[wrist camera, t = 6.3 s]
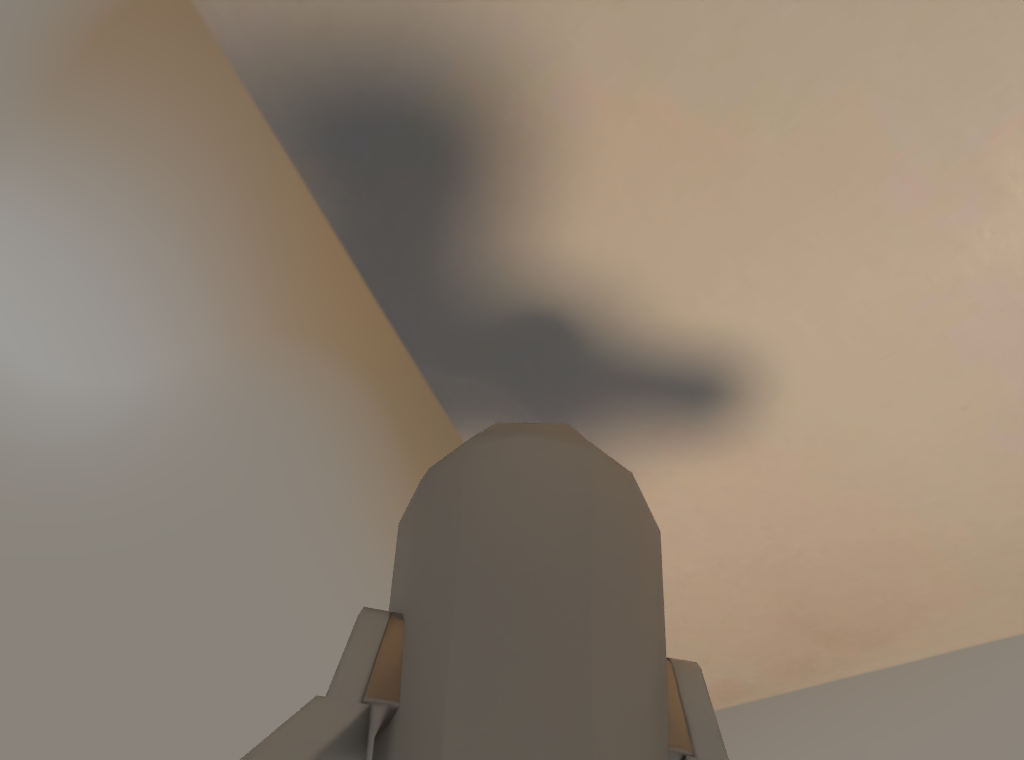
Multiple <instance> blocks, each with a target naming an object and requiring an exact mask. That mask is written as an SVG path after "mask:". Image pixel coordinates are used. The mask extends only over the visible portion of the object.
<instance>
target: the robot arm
mask: <svg viewBox="0 0 1024 760" xmlns="http://www.w3.org/2000/svg"><path fill="white" fill-rule="evenodd" d="M403 639H404V617H403V614H401V613H396V612H390V611H384V610H378V609H373V608H367V607H364V608H363V609H362V611H361V612H360V614H359V615H358V617H357V620H356V622H355V625H354V627H353V630H352V632H351V635H350V637H349V640H348V642H347V645H346V647H345V650H344V652H343V655H342V657H341V660H340V662H339V665H338V667H337V670H336V672H335V675H334V677H333V680H332V682H331V685H330V688H329V690H328V692H327V695H326V697H323V696H316V697H314V698H313V699H312V700H311V701H310V702H308V703H307V704H306V705H305V706H304V707H302V708H301V709H300V710H299V711H298V712H296V713H295V714H294V715H293V716H292V717H290V718H289V719H288V720H287V721H286V722H284V723H283V724H282V725H281V726H280V727H278V728H277V729H276V730H275V731H274V732H272V733H271V734H270V735H269V736H268V737H266V738H265V739H264V740H263V741H262V742H261V743H259V744H258V745H257V746H256V747H255V748H253V749H252V750H251V751H250V752H249V753H247V754H246V755H245V756H244V757H243V758H241V759H240V760H372V755H373V746H374V738H375V737H376V736H377V735H378V734H379V733H380V732H382V731H383V730H384V729H385V728H386V727H387V726H388V725H389V723H390V722H391V720H392V718H393V717H394V715H395V713H396V712H397V710H398V709H399V707H400V690H401V674H402V656H403ZM666 660H667V681H668V751H669V752H670V753H671V760H729V759H728V755H727V752H726V749H725V746H724V742H723V739H722V736H721V732H720V729H719V726H718V723H717V719H716V716H715V713H714V709H713V706H712V703H711V700H710V696H709V693H708V690H707V687H706V683H705V680H704V677H703V673H702V670H701V668H700V666H699V665H698V664H697V662H691V661H685V660H679V659H673V658H666Z"/></svg>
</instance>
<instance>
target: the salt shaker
mask: <svg viewBox="0 0 1024 760" xmlns="http://www.w3.org/2000/svg"><path fill="white" fill-rule="evenodd" d="M389 611H390V612H396V613H401V614H403V617H404V639H403V656H402V674H401V690H400V707H399V709H398V710H397V712H396V713H395V715H394V717H393V718H392V720H391V722H390V723H389V725H388V726H387V727H386V728H385V729H384V730H383V731H382V732H380V733H379V734H378V735H377V736H376V737H375V738H374V746H373V755H372V760H671V753H670V752H669V751H668V681H667V660H666V639H665V619H664V598H663V577H662V556H661V535H660V530H659V528H658V526H657V524H656V522H655V519H654V517H653V515H652V513H651V511H650V509H649V507H648V505H647V503H646V501H645V499H644V497H643V495H642V492H641V490H640V488H639V486H638V484H637V482H636V480H635V478H634V476H633V474H632V473H631V472H630V471H629V470H627V469H626V468H625V467H623V466H622V465H620V464H619V463H618V462H616V461H615V460H614V459H612V458H611V457H610V456H608V455H607V454H605V453H604V452H603V451H601V450H600V449H599V448H597V447H596V446H594V445H593V444H592V443H590V442H589V441H588V440H586V439H585V438H584V437H583V436H582V435H581V434H579V433H578V432H577V431H576V430H575V429H574V428H572V427H571V426H570V425H569V424H537V423H495V424H494V425H492V426H490V427H489V428H487V429H485V430H484V431H482V432H480V433H479V434H477V435H475V436H474V437H472V438H470V439H469V440H468V441H466V442H465V443H463V444H462V445H461V446H459V447H458V448H457V449H455V450H454V451H453V452H451V453H450V454H448V455H447V456H446V457H444V458H443V459H442V460H440V461H439V462H437V463H436V464H435V465H433V466H432V467H431V468H429V470H428V471H427V473H426V474H425V475H424V477H423V479H422V480H421V481H420V483H419V485H418V487H417V489H416V491H415V493H414V495H413V497H412V499H411V501H410V503H409V505H408V507H407V509H406V511H405V513H404V515H403V517H402V519H401V520H400V523H399V526H398V536H397V544H396V553H395V562H394V570H393V579H392V588H391V597H390V605H389Z"/></svg>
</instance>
